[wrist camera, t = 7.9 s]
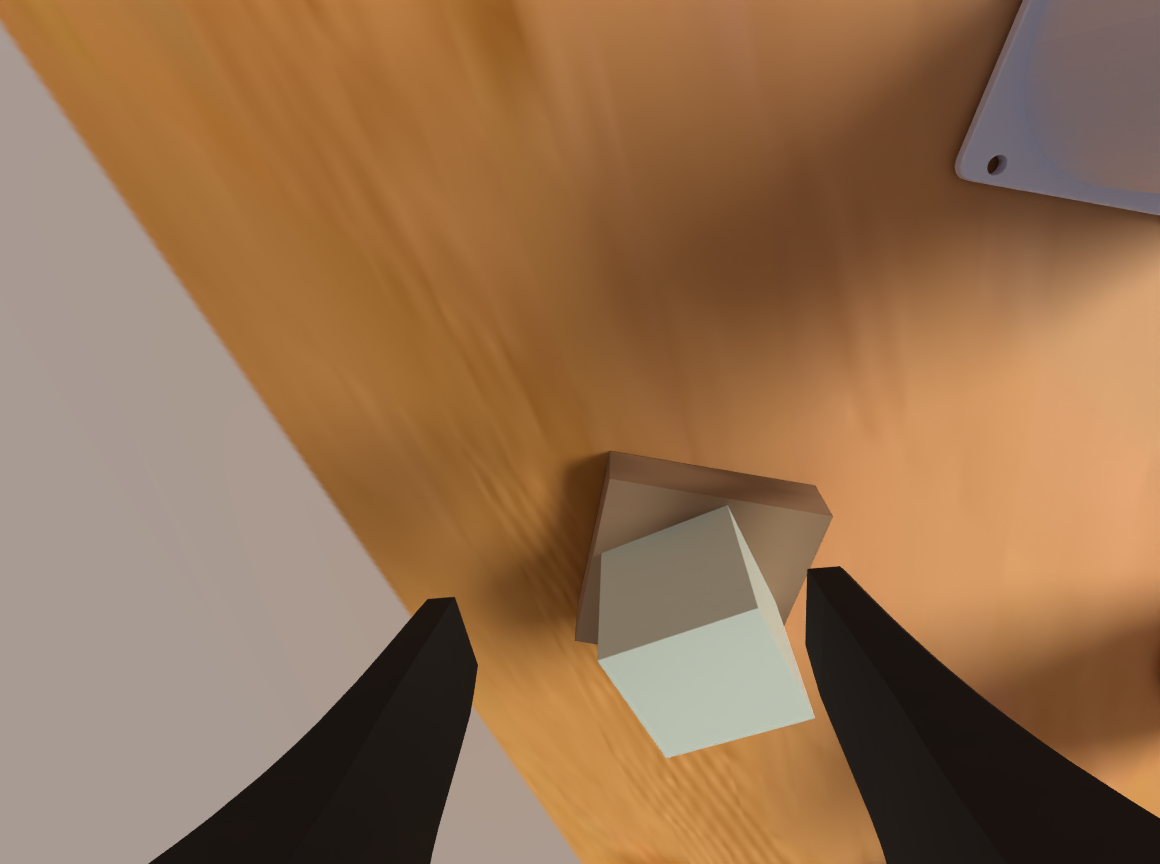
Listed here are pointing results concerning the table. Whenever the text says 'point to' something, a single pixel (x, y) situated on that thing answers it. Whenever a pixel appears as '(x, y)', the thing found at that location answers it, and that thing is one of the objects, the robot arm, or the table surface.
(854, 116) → the table surface
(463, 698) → the robot arm
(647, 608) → the painted cube
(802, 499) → the walnut plinth
